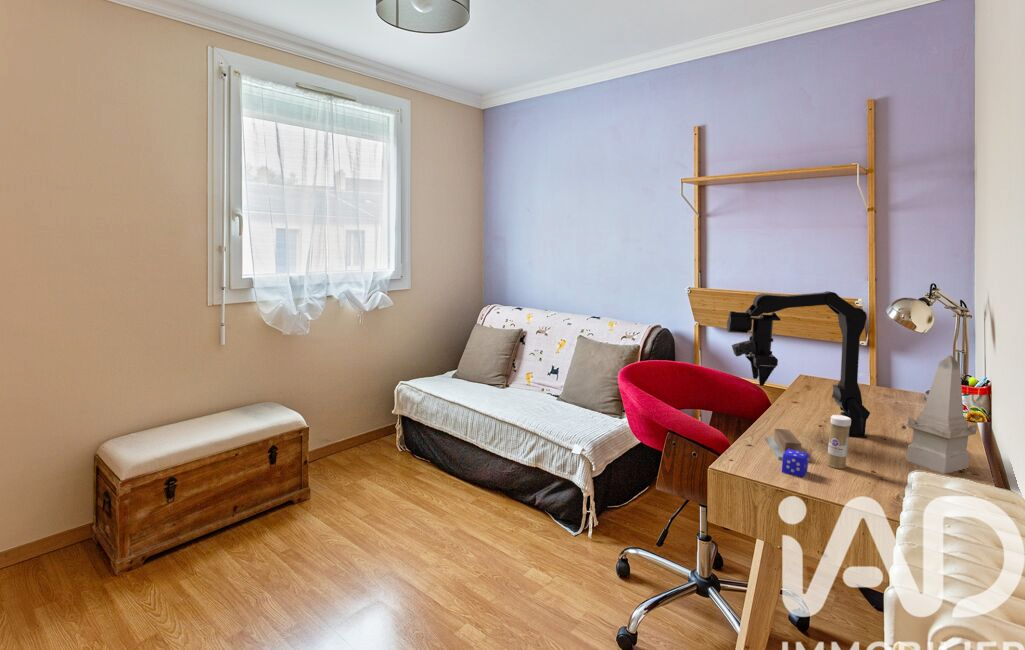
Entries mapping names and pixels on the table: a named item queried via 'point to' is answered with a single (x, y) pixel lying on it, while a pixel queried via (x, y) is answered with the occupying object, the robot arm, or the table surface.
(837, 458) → the spice jar
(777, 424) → the table surface
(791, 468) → the die
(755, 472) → the table surface
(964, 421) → the miniature monument
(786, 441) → the ridge
